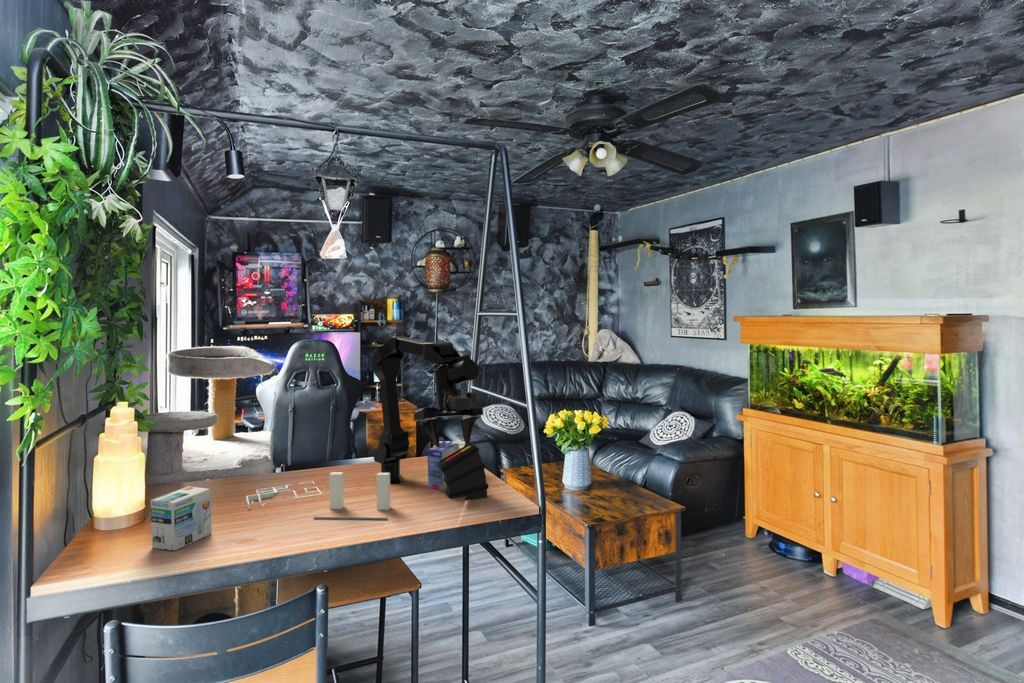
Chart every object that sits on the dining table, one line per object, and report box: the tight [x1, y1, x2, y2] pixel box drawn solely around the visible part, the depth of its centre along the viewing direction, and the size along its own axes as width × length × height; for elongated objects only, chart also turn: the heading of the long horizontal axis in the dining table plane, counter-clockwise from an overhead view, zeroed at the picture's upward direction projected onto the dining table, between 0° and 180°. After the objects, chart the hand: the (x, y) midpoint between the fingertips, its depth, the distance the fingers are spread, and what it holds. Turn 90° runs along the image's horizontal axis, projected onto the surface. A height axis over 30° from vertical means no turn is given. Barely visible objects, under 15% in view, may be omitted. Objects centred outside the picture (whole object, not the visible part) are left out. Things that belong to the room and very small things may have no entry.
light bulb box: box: [150, 485, 213, 552], centre depth 129 cm, size 11×7×11 cm, turn 164°
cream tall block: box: [328, 471, 345, 510], centre depth 147 cm, size 2×3×9 cm, turn 88°
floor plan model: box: [245, 480, 323, 510], centre depth 156 cm, size 19×25×2 cm
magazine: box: [438, 442, 490, 501], centre depth 158 cm, size 4×13×15 cm, turn 112°
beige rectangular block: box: [375, 472, 392, 511], centre depth 147 cm, size 2×3×9 cm, turn 88°
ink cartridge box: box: [426, 436, 459, 490], centre depth 167 cm, size 10×6×14 cm, turn 155°
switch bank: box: [313, 516, 388, 521], centre depth 145 cm, size 12×18×2 cm, turn 88°
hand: (452, 445), depth 152 cm, fingers open, 9 cm apart
